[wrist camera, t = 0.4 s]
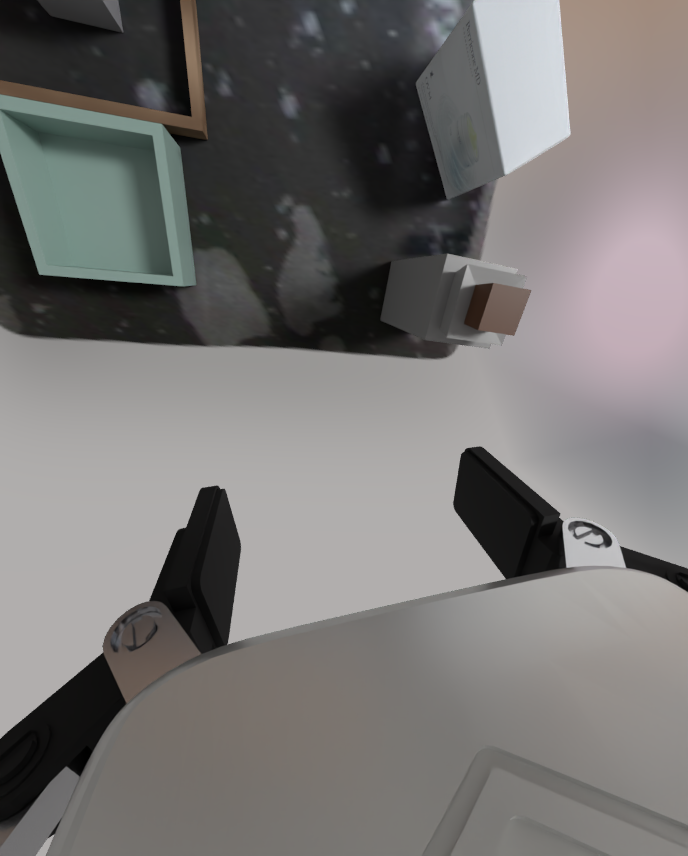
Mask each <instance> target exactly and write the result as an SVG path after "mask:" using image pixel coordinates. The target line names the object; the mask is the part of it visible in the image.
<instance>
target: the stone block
mask: <svg viewBox="0 0 688 856" xmlns="http://www.w3.org/2000/svg"><path fill="white" fill-rule="evenodd" d="M37 1H38V2H39V3H40V4H41V5H42V7H43V8H44V9H45V10H46V11H47V12H48V13H49V15H50V16H53V17H57V18H61V19H66V20H70V21H74V22H79V23H83V24H87V25H91V26H96V27H100V28H104V29H108V30H113V31H117V32H121V33H123V28H122V22H121V15H120V9H119V3H118V0H37Z"/></svg>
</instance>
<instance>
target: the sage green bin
mask: <svg viewBox="0 0 688 856" xmlns="http://www.w3.org/2000/svg"><path fill="white" fill-rule="evenodd" d="M0 154H1V157H2V160H3V163H4V166H5V169H6V172H7V175H8V179H9V182H10V185H11V188H12V191H13V194H14V197H15V200H16V203H17V207H18V210H19V213H20V216H21V219H22V222H23V225H24V228H25V231H26V235H27V238H28V241H29V244H30V247H31V250H32V253H33V256H34V260H35V263H36V266H37V269H38V272H39V275H50V276H62V277H74V278H87V279H99V280H111V281H123V282H135V283H147V284H160V285H172V286H192V285H196V278H195V269H194V261H193V252H192V244H191V235H190V227H189V218H188V210H187V202H186V193H185V185H184V176H183V168H182V159H181V151H180V147H179V146H178V144H177V143H176V142H175V140H174V139H173V138H172V137H171V135H170V134H169V133H168V131H167V130H166V129H165V127H164V126H163V125H162V124H159V123H154V122H148V121H143V120H137V119H132V118H126V117H121V116H115V115H110V114H105V113H99V112H94V111H88V110H83V109H77V108H72V107H66V106H61V105H55V104H50V103H45V102H39V101H34V100H28V99H23V98H17V97H12V96H6V95H1V94H0Z"/></svg>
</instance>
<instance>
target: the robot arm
mask: <svg viewBox="0 0 688 856" xmlns="http://www.w3.org/2000/svg"><path fill="white" fill-rule="evenodd" d="M453 505H454V509H455V511H456V513H457V514H458V515H459V516H460V518H461V519H462V521H463V522H464V523H465V525H466V526H467V527H468V529H469V530H470V531H471V533H472V534H473V535H474V537H475V538H476V539H477V541H478V542H479V543H480V545H481V546H482V547H483V549H484V550H485V551H486V553H487V554H488V555H489V557H490V558H491V559H492V561H493V562H494V564H495V565H496V566H497V568H498V569H499V570H500V572H501V573H502V574H503V576H504V577H505V578H506V579H505V580H501V581H497V582H492V583H487V584H483V585H478V586H473V587H469V588H464V589H460V590H455V591H451V592H447V593H442V594H437V595H433V596H428V597H424V598H419V599H415V600H410V601H406V602H401V603H397V604H393V605H388V606H384V607H379V608H375V609H371V610H366V611H362V612H357V613H353V614H349V615H344V616H340V617H336V618H332V619H327V620H323V621H318V622H314V623H310V624H305V625H301V626H297V627H293V628H289V629H285V630H281V631H276V632H273V633H269V634H264V635H260V636H256V637H252V638H249V639H245V640H242V641H238V642H235V643H232V644H228V645H227V643H228V638H229V632H230V624H231V617H232V610H233V603H234V595H235V588H236V581H237V573H238V566H239V559H240V552H241V543H240V539H239V536H238V532H237V528H236V525H235V522H234V518H233V515H232V511H231V508H230V504H229V501H228V498H227V494H226V491H225V489H220V488H219V486H212V487H205V488H201V490H200V491H199V494H198V497H197V500H196V502H195V506H194V508H193V511H192V513H191V516H190V519H189V521H188V524H187V527H186V528H183V529H179V530H178V531H177V533H176V535H175V538H174V540H173V543H172V545H171V548H170V550H169V553H168V555H167V558H166V560H165V563H164V565H163V568H162V570H161V573H160V575H159V578H158V580H157V583H156V586H155V588H154V590H153V593H152V595H151V598H150V600H149V602H144V603H141V604H139V605H136V606H135V607H133V608H131V609H130V610H128V611H126V612H125V613H124V614H123V615H122V616H120V617H119V618H118V619H117V620H116V621H115V623H114V624H113V625H112V626H111V627H110V629H109V631H108V632H107V634H106V636H105V639H104V643H103V653H102V654H101V655H100V656H98V657H97V658H96V659H95V660H94V661H92V662H91V663H90V664H89V665H88V666H86V667H85V668H84V669H83V670H82V671H80V672H79V673H78V674H77V675H76V676H74V677H73V678H72V679H71V680H70V681H68V682H67V683H66V684H65V685H64V686H62V687H61V688H60V689H59V690H58V691H56V692H55V693H54V694H53V695H52V696H51V697H49V698H48V699H47V700H46V701H45V702H43V703H42V704H41V705H40V706H38V707H37V708H36V709H35V710H34V711H32V712H31V713H30V714H29V715H28V716H26V718H24V719H23V720H22V721H20V722H19V723H18V724H17V725H15V726H14V727H13V728H12V729H11V730H9V731H8V732H7V733H6V734H5V735H4V736H3V737H2V738H1V739H0V856H35V855H36V854H37V852H38V851H39V850H40V848H41V847H42V845H43V844H44V842H45V841H46V840H47V838H49V837H51V836H52V835H54V834H55V835H54V837H53V840H52V842H51V845H50V847H49V849H48V852H47V854H46V856H688V569H687V568H684V567H681V566H678V565H675V564H672V563H669V562H666V561H663V560H660V559H657V558H654V557H651V556H648V555H645V554H642V553H639V552H636V551H633V550H630V549H627V548H624V547H621V546H620V545H619V542H618V540H617V538H616V537H615V535H614V534H613V533H611V531H609V530H608V529H607V528H605V527H604V526H602V525H600V524H598V523H596V522H594V521H591V520H588V519H583V518H569V519H566V520H565V521H562V520H561V519H560V518H559V516H560V513H559V512H558V511H557V510H556V509H554V508H553V507H552V506H551V505H550V504H549V503H547V502H546V501H545V500H544V499H543V498H542V497H540V496H539V495H538V494H537V493H536V492H534V491H533V490H532V489H531V488H530V487H529V486H527V485H526V484H525V483H524V482H523V481H522V480H520V479H519V478H518V477H517V476H516V475H514V474H513V473H512V472H511V471H510V470H508V469H507V468H506V467H505V466H504V465H503V464H501V463H500V462H499V461H498V460H497V459H496V458H494V457H493V456H492V455H491V454H490V453H489V452H487V451H486V450H485V449H484V448H482V447H472V448H467V449H465V452H463V453H462V454H461V458H460V465H459V471H458V477H457V483H456V489H455V496H454V502H453Z"/></svg>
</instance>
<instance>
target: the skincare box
mask: <svg viewBox="0 0 688 856" xmlns="http://www.w3.org/2000/svg"><path fill="white" fill-rule="evenodd" d="M416 88H417V91H418V95H419V99H420V102H421V106H422V110H423V113H424V117H425V121H426V124H427V128H428V132H429V135H430V139H431V143H432V146H433V150H434V154H435V157H436V161H437V165H438V168H439V172H440V176H441V179H442V183H443V187H444V191H445V195H446V198H447V200H449V199H451V198H453V197H456V196H458V195H460V194H463V193H465V192H467V191H470V190H472V189H474V188H477V187H479V186H481V185H484V184H486V183H488V182H491V181H493V180H496V179H498V178H500V177H503V176H505V175H508V174H509V173H511V172H513V171H514V170H516V169H518V168H519V167H521V166H523V165H524V164H526V163H527V162H529V161H530V160H532V159H534V158H535V157H537V156H539V155H540V154H542V153H544V152H545V151H547V150H549V149H550V148H551V147H553V146H555V145H557V144H558V143H560V142H561V141H563V140H564V139H566V138H567V137H568V136H569V135H570V125H569V124H570V123H569V111H568V99H567V87H566V75H565V64H564V53H563V40H562V28H561V17H560V4H559V0H474V1H473V2H472V4H471V6H470V7H469V8H468V10H467V11H466V13H465V14H464V15H463V17H462V18H461V20H460V21H459V22H458V24H457V25H456V26H455V28H454V29H453V31H452V32H451V34H450V35H449V36H448V38H447V39H446V41H445V42H444V44H443V45H442V46H441V48H440V49H439V50H438V52H437V53H436V55H435V56H434V58H433V59H432V60H431V62H430V63H429V65H428V66H427V67H426V69H425V70H424V72H423V73H422V75H421V76H420V77H419V79H418V80H417V81H416Z"/></svg>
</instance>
